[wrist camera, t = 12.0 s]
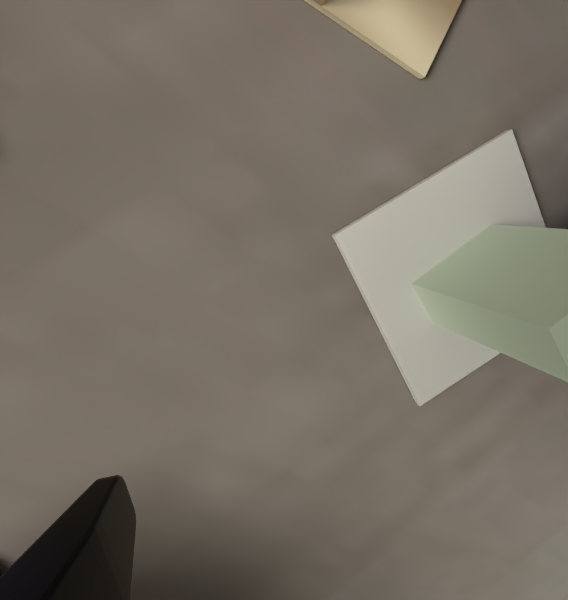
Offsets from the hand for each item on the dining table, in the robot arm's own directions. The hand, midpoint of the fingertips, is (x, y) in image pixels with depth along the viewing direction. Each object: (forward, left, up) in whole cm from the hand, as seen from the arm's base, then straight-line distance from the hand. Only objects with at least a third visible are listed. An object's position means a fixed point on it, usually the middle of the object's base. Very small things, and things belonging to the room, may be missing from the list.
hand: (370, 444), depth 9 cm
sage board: (+10, -4, -13) cm, 16 cm away
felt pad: (+10, -4, -13) cm, 17 cm away
